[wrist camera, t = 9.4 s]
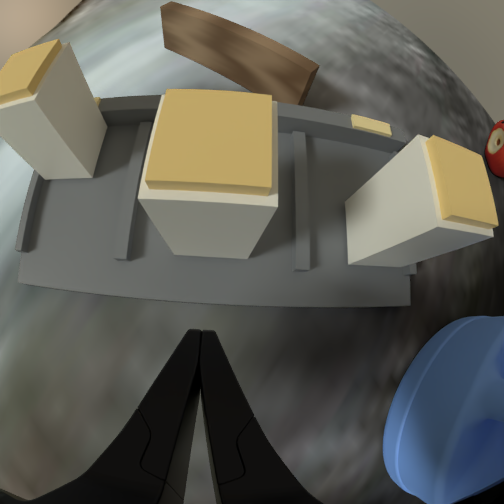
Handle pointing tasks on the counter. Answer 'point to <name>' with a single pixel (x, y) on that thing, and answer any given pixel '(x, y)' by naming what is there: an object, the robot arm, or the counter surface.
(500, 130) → the apple
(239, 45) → the plaque
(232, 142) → the button middle
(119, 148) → the button board
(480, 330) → the water jug
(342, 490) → the counter surface
